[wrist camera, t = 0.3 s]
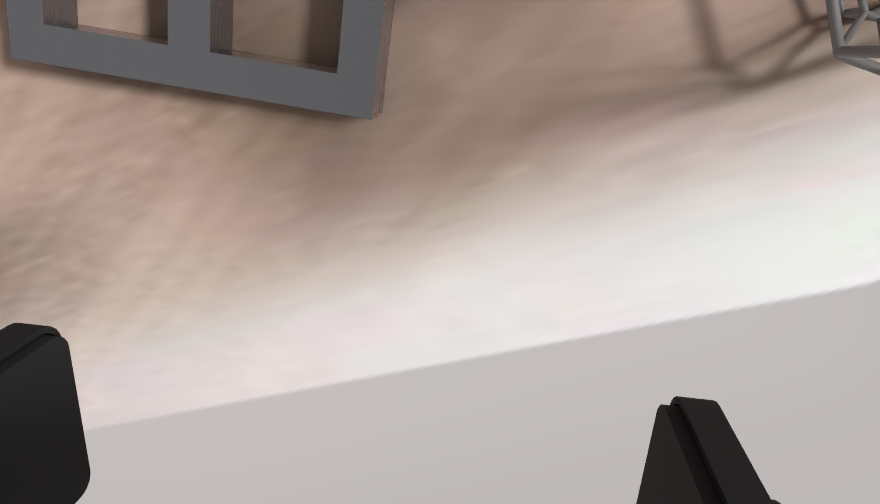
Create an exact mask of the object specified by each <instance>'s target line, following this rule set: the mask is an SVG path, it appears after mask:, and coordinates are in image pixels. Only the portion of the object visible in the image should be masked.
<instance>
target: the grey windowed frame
mask: <svg viewBox="0 0 880 504" xmlns="http://www.w3.org/2000/svg"><path fill="white" fill-rule="evenodd" d="M394 1H395V0H343V12H342V23H341V34H340V46H339V57H338V68H335V67H329V66H323V65H317V64H311V63H305V62H299V61H293V60H287V59H281V58H275V57H269V56H263V55H258V54H252V53H246V52H240V51H234V50H232V29H233V0H168V39H162V38H156V37H150V36H144V35H138V34H132V33H126V32H120V31H115V30H109V29H103V28H97V27H91V26H85V25H79V24H78V17H77V0H6V10H7V20H8V30H9V40H10V51H11V58H14V59H20V60H26V61H32V62H37V63H43V64H49V65H55V66H61V67H67V68H72V69H78V70H84V71H90V72H96V73H101V74H107V75H113V76H119V77H125V78H131V79H136V80H142V81H148V82H154V83H160V84H166V85H171V86H177V87H183V88H189V89H195V90H201V91H206V92H212V93H218V94H224V95H230V96H236V97H241V98H247V99H253V100H259V101H265V102H271V103H276V104H282V105H288V106H294V107H300V108H306V109H311V110H317V111H323V112H329V113H335V114H341V115H346V116H352V117H358V118H364V119H370V120H372V119H373V118H375V117H376V116H378V115H379V114H381V113H382V105H383V96H384V88H385V79H386V70H387V62H388V53H389V44H390V35H391V27H392V18H393V9H394Z"/></svg>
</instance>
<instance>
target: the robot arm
mask: <svg viewBox="0 0 880 504" xmlns="http://www.w3.org/2000/svg"><path fill="white" fill-rule="evenodd" d="M89 480H90V466H89V461H88V455H87V449H86V443H85V437H84V431H83V425H82V420H81V414H80V408H79V402H78V396H77V391H76V385H75V379H74V373H73V367H72V362H71V356H70V350H69V345H68V342H67V341H66V340H65V338H63V337H61V335H60V333H59V332H58V331H57V329H55V328H53V327H51V326H42V325H33V324H24V323H13V324H11V325H8V326H6V327H5V328H3V329H1V330H0V504H75V503H76V502H77V501H78V500H79V499H80V497H81V496H82V495H83V494H84V492H85V490H86V488H87V486H88V483H89ZM636 504H781V503H779V502H777V501H775V500H771V499H770V497H769V495H768V493H767V492H766V490H765V488H764V486H763V484H762V483H761V481H760V479H759V477H758V475H757V473H756V471H755V470H754V468H753V466H752V464H751V462H750V461H749V459H748V457H747V455H746V453H745V451H744V450H743V448H742V446H741V444H740V442H739V441H738V439H737V437H736V435H735V433H734V431H733V429H732V428H731V426H730V424H729V422H728V420H727V419H726V417H725V415H724V413H723V411H722V410H721V408H720V406H719V404H718V403H717V402H716V401H713V400H705V399H696V398H687V397H678V396H676V397H674V398H673V400H672V402H671V404H670V405H660V406H659V408H658V410H657V413H656V418H655V422H654V427H653V431H652V436H651V440H650V445H649V450H648V454H647V458H646V463H645V467H644V472H643V476H642V482H641V486H640V490H639V494H638V499H637V503H636Z"/></svg>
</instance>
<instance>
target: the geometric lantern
mask: <svg viewBox="0 0 880 504" xmlns="http://www.w3.org/2000/svg"><path fill="white" fill-rule="evenodd" d="M858 4H859V8H852V9H847V10H846V6H845V2H844V0H826V7H827V14H828V21H829V28H830V34H831V41H832V48H833V54H834V56H835V57H836V58H837V59H839V60H841V61H843V62H845V63H847V64H850V65H853V66H855V67H858V68H861V69H863V70H866V71H869V72H872V73H874V74H877V75H880V63H878V62H876V61H873V60H870V59H868V58H880V46H847V45H848V43H849V42H850V40H851V39H852V37H853V36H854V34H855V33H856V31H857V30H858V28H859V27H860V25H861V24H862V22H863V21H864V20H867V21H876V22H877V28H878V34H879V41H880V7H878V8H876V9H873V10H871V11H870V10H869V8H868V4H867V0H858ZM841 17H846V18H853V19H855V21H854V22H853V24H852V25H851V27H850V28H849V30H848V31H847V33H846V34H845V36H844V34H843V27H842V20H841Z"/></svg>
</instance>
